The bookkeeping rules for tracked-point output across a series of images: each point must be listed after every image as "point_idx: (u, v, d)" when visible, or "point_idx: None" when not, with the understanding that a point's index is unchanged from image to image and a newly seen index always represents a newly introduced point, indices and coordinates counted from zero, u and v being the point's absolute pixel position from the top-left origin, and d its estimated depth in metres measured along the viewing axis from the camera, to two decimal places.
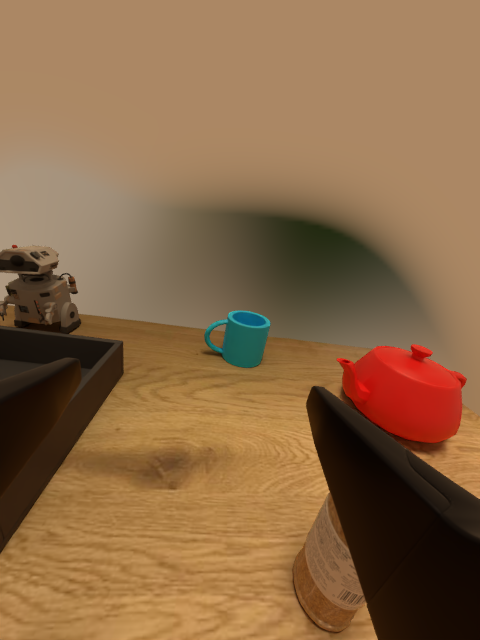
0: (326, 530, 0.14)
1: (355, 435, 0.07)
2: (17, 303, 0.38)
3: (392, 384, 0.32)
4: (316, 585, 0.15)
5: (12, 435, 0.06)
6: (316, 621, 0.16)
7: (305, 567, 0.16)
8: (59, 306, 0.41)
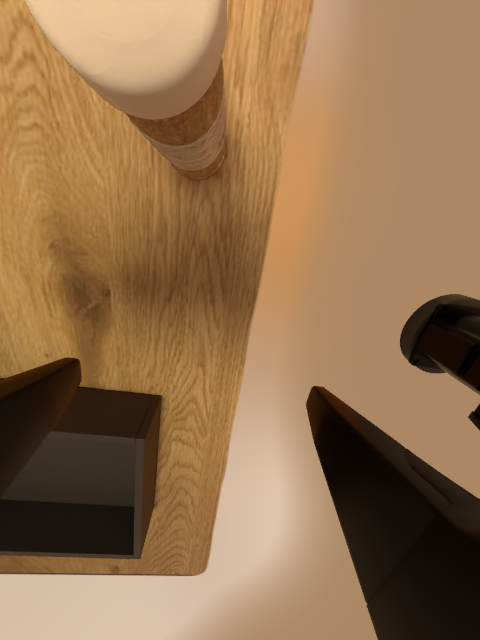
0: (174, 151, 0.11)
1: (355, 435, 0.07)
2: None
3: None
4: (203, 168, 0.15)
5: (12, 435, 0.06)
6: (218, 168, 0.17)
7: (187, 170, 0.15)
8: None
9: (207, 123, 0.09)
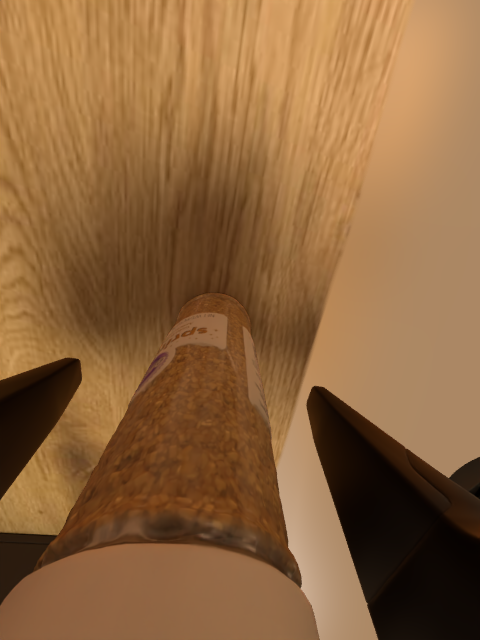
0: None
1: (355, 435, 0.07)
2: None
3: None
4: None
5: (13, 435, 0.06)
6: None
7: None
8: None
9: None
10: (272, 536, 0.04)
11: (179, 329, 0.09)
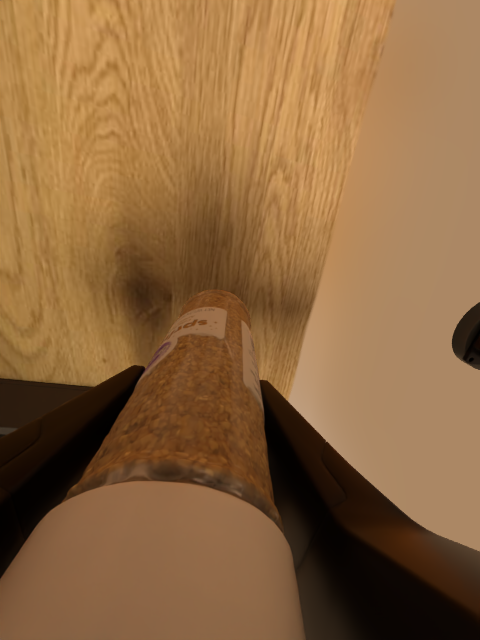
0: None
1: (278, 428, 0.06)
2: None
3: None
4: None
5: None
6: None
7: None
8: None
9: None
10: (257, 487, 0.04)
11: (181, 322, 0.10)
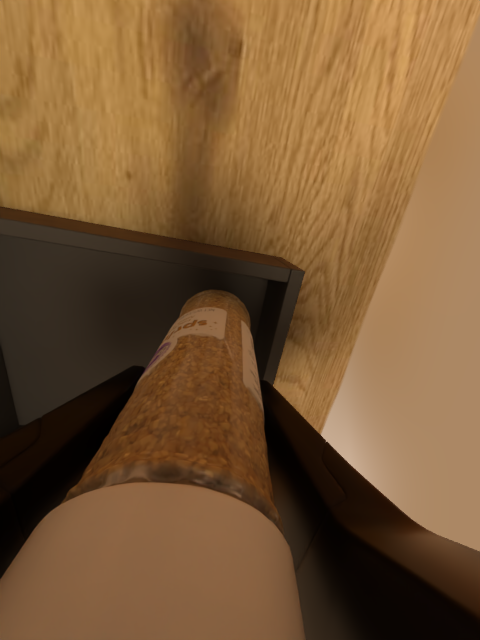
0: None
1: (278, 428, 0.06)
2: None
3: None
4: None
5: None
6: None
7: None
8: None
9: None
10: (257, 489, 0.04)
11: (181, 322, 0.10)
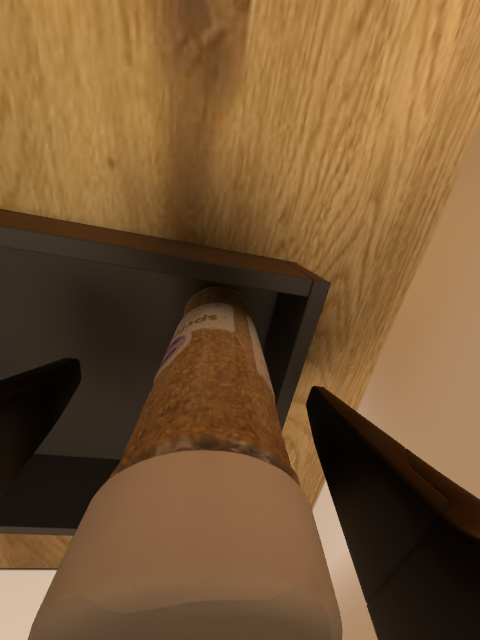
0: None
1: (355, 435, 0.07)
2: None
3: None
4: None
5: (12, 435, 0.06)
6: None
7: None
8: None
9: None
10: (281, 457, 0.05)
11: (191, 317, 0.10)
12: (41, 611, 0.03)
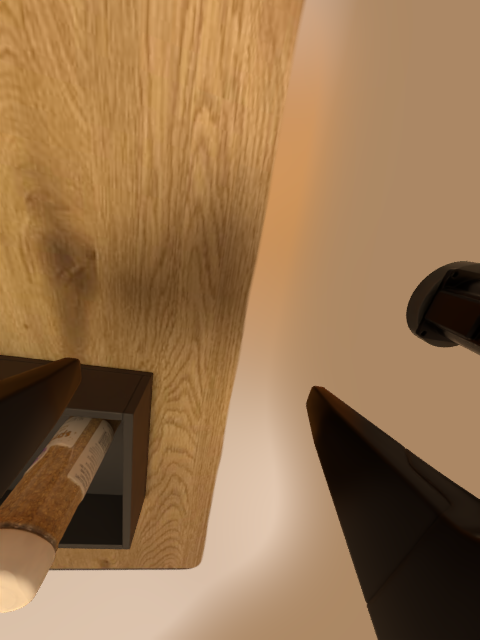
0: None
1: (355, 435, 0.07)
2: None
3: None
4: None
5: (12, 435, 0.06)
6: None
7: None
8: None
9: None
10: (41, 526, 0.13)
11: (61, 429, 0.19)
12: None
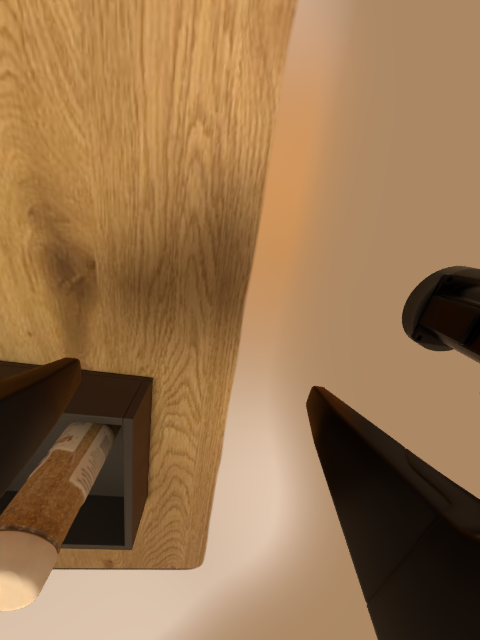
0: None
1: (355, 435, 0.07)
2: None
3: None
4: None
5: (12, 435, 0.06)
6: None
7: None
8: None
9: None
10: (43, 528, 0.14)
11: (64, 433, 0.20)
12: None
